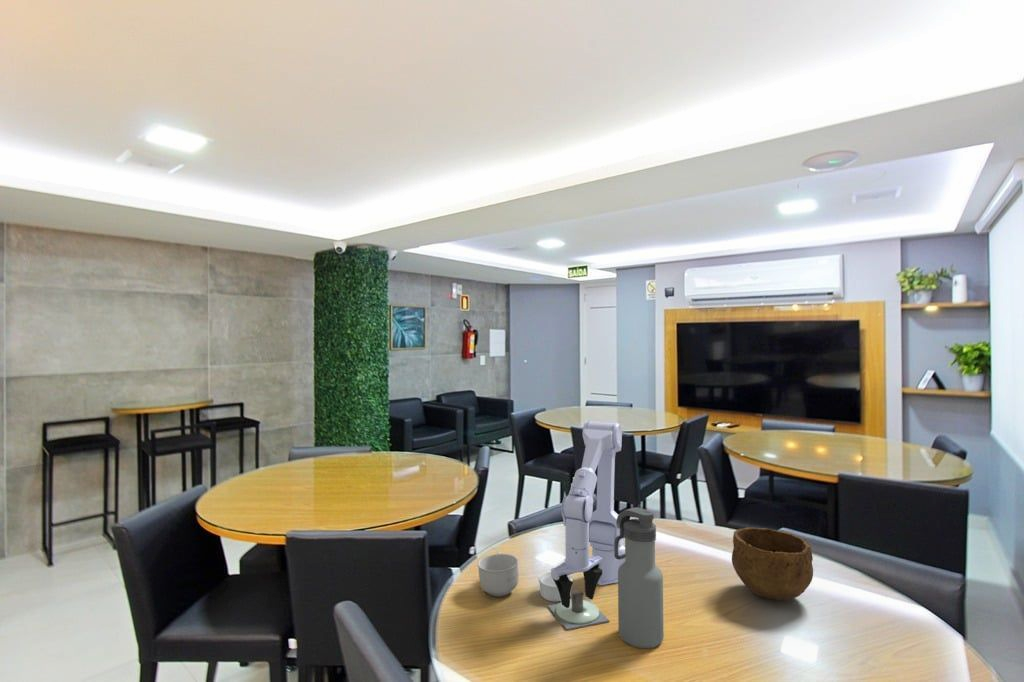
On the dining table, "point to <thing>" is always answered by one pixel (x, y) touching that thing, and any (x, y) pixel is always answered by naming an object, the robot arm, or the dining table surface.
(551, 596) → the ramekin
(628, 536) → the water bottle
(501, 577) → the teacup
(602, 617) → the mat
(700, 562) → the dining table surface
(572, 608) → the lid
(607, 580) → the robot arm
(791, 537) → the bowl
